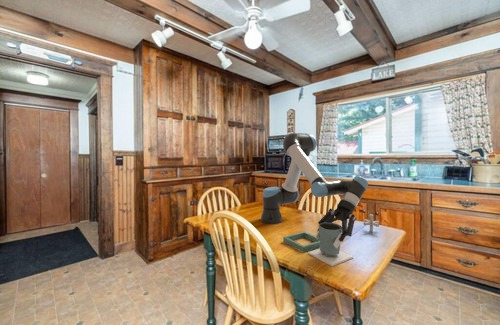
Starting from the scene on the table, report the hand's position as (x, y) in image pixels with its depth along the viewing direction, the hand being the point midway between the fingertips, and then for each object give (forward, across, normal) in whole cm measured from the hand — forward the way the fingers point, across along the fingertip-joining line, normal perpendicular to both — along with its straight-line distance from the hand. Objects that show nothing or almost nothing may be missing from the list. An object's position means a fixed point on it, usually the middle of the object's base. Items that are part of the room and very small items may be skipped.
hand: (325, 242), depth 102 cm
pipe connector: (-30, +9, -40) cm, 51 cm away
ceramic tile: (+3, 0, -7) cm, 8 cm away
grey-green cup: (+1, 0, -6) cm, 6 cm away
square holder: (+3, +17, -7) cm, 19 cm away
